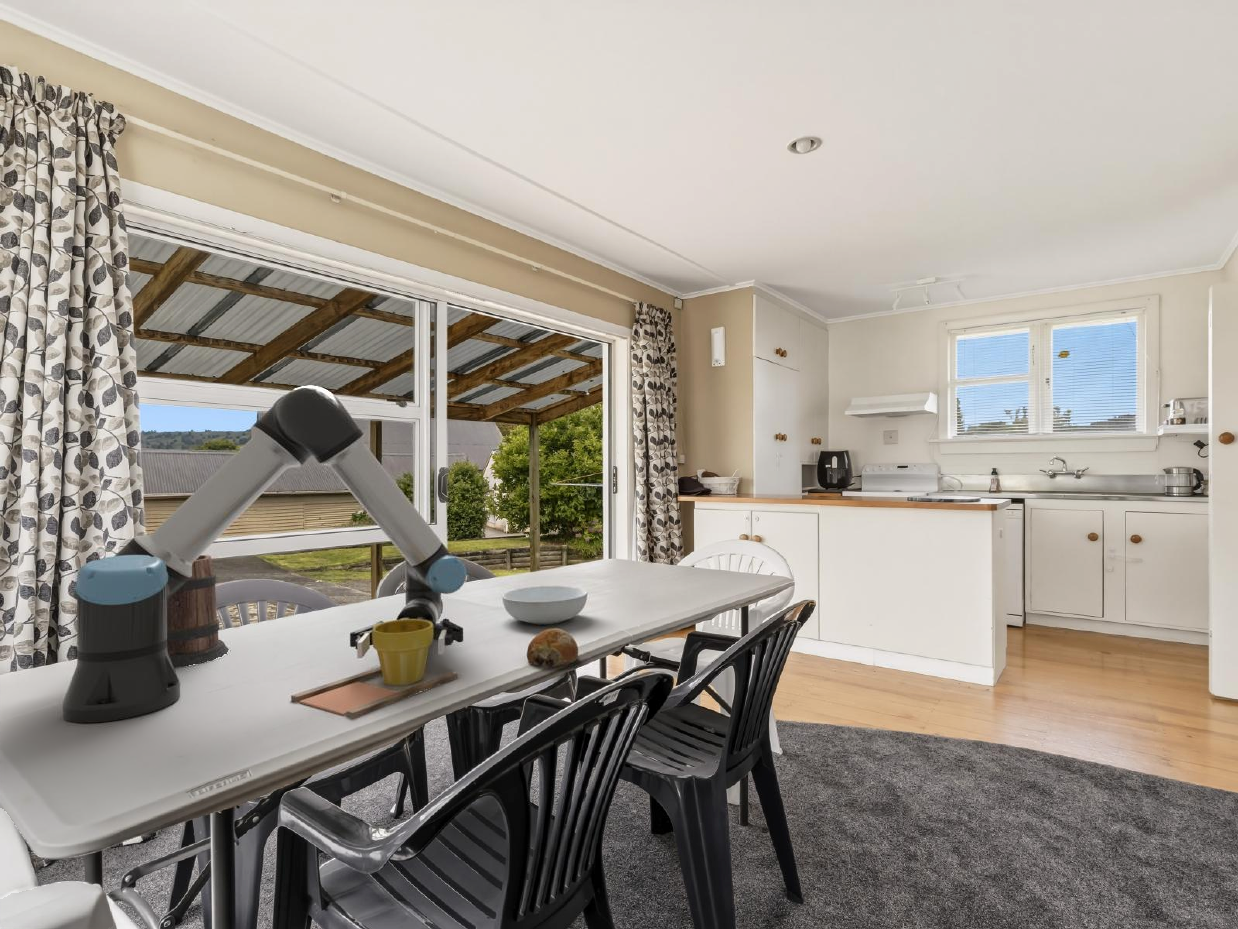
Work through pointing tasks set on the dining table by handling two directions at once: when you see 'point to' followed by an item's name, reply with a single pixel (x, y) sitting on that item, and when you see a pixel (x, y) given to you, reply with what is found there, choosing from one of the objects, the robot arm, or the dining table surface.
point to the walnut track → (376, 703)
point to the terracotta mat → (347, 697)
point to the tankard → (194, 618)
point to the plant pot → (402, 649)
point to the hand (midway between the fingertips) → (400, 648)
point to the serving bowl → (544, 603)
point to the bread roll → (552, 649)
